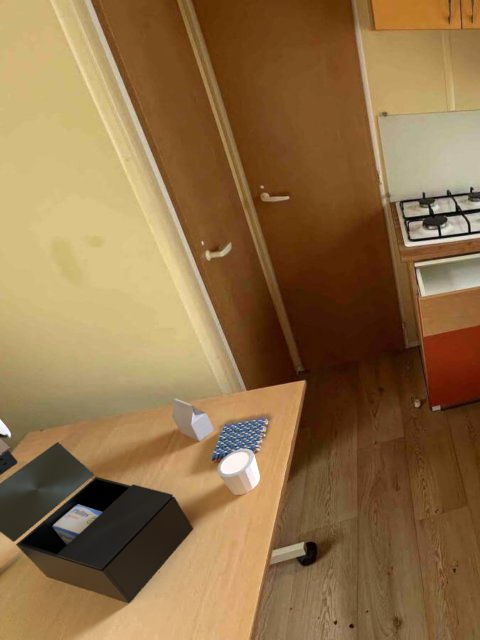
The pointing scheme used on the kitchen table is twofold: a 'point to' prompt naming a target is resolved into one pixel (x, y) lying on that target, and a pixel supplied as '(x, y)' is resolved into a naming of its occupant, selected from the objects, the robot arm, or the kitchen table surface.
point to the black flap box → (111, 539)
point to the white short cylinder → (239, 471)
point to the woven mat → (240, 438)
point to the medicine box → (75, 522)
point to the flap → (39, 489)
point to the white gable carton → (191, 420)
